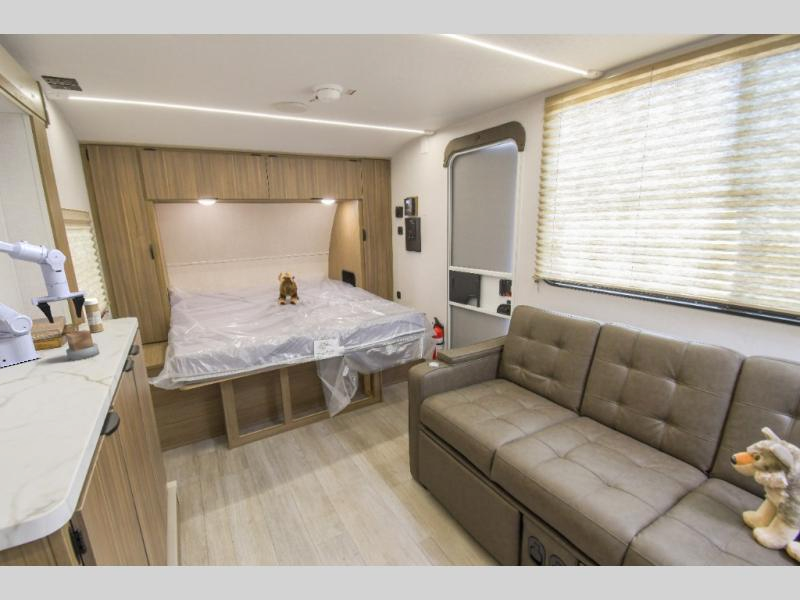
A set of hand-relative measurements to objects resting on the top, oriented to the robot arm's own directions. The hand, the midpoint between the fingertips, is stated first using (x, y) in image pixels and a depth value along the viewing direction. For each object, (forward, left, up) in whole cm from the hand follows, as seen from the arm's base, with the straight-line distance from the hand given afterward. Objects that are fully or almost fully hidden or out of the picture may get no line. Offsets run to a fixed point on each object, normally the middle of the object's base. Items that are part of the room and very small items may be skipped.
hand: (65, 320), depth 131 cm
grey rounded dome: (-2, -18, -9) cm, 21 cm away
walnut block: (-2, -18, -6) cm, 19 cm away
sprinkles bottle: (+11, +11, -10) cm, 18 cm away
